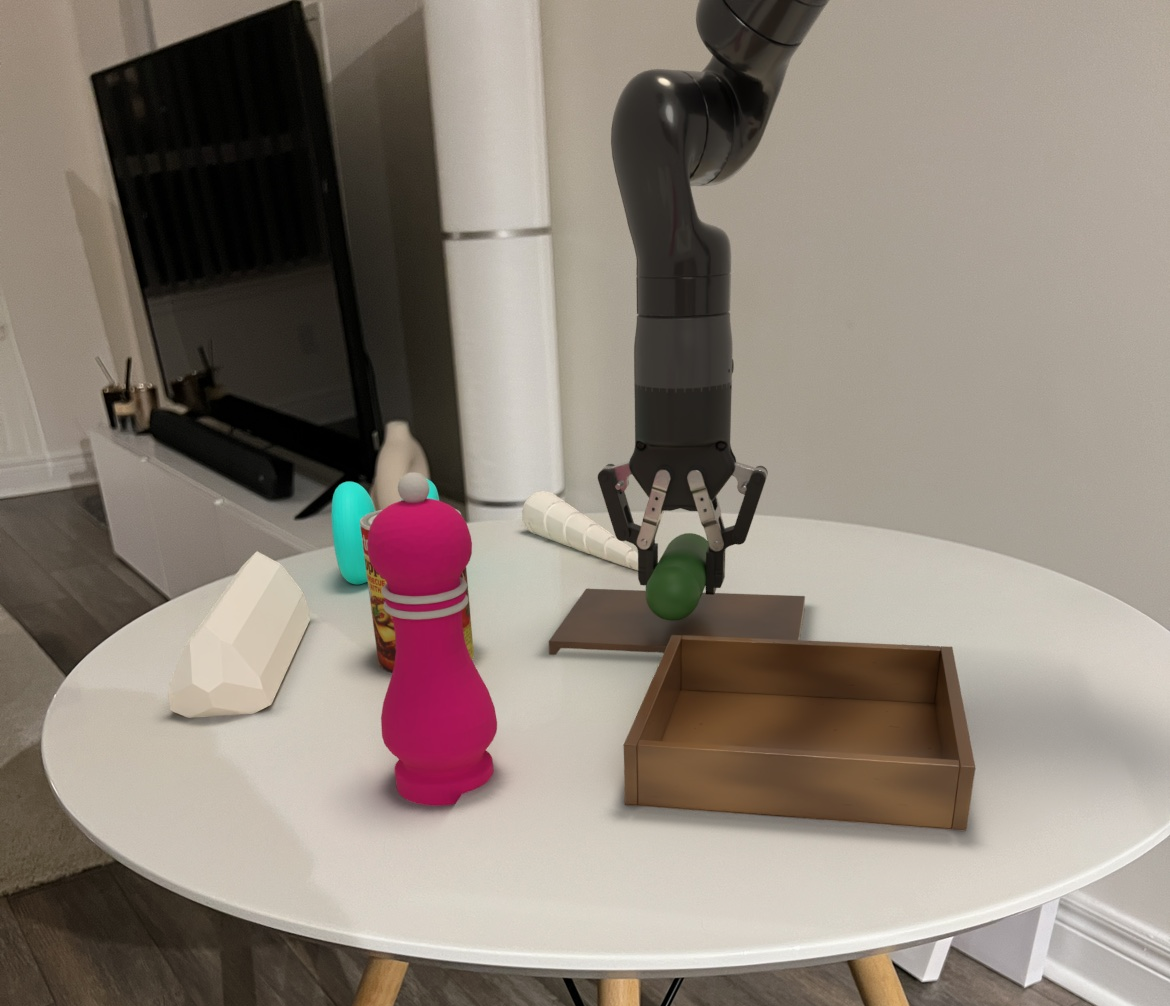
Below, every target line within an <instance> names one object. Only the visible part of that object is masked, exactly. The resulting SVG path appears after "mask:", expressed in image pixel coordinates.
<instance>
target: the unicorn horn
mask: <svg viewBox="0 0 1170 1006" xmlns="http://www.w3.org/2000/svg"><path fill="white" fill-rule="evenodd" d="M521 518H522V522H523V525H524V527H525V528H526V530H527V531H528V532H529V533H531V534H534V535H537V536H539V537H541V538H544V539H548V540H550V541H553V542H555V543H558V544H560V545H564V546H566V547H569V548H573V549H574V550H577V551H579V552H583V553H585V554H587V555H592V556H594V557H597V558H599V559H602V560H604V561H608V562H612V563H613V564H616V565H619V566H622V567H624V568H628V569H632V570H634V571H636V572H638V551H636V550H633V547H631V546H629V545H628V544H626V543H625V541H620V540H618V539H617V538H616V536H615V534H612V533H611V532H609V531H608V530H607V529H606V528H605V527H602V526H601V525H599V524H598V523H597V522H595V520H592V518H590V517H588V516H586V515H585V514H584V513H581V512H580V511H579V510H577V509H576V508H575V507H573V506H572V505H570V504H569V503H568V502H565V500H564V499H562V498H560V497H559V496H558V495H557V494H555V493H553V492H551V491H546V490H541V491H537V492H534V493H533V494H531V495H530V496H529V497H528V498H527V499H526V500H525V501H524V503H523V506H522V510H521Z"/></svg>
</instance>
